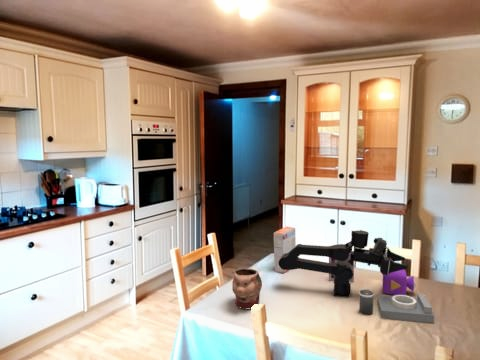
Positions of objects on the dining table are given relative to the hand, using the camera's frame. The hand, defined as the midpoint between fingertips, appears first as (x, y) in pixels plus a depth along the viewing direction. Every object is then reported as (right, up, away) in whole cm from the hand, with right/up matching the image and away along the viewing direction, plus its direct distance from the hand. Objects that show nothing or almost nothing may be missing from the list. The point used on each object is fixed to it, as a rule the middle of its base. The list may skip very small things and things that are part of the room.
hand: (406, 262), depth 148 cm
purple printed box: (-19, -14, +26) cm, 35 cm away
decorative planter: (-65, -18, +3) cm, 67 cm away
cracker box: (-44, -13, +42) cm, 62 cm away
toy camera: (+1, -15, +10) cm, 19 cm away
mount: (-4, -17, -8) cm, 19 cm away
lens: (-19, -18, -7) cm, 27 cm away
